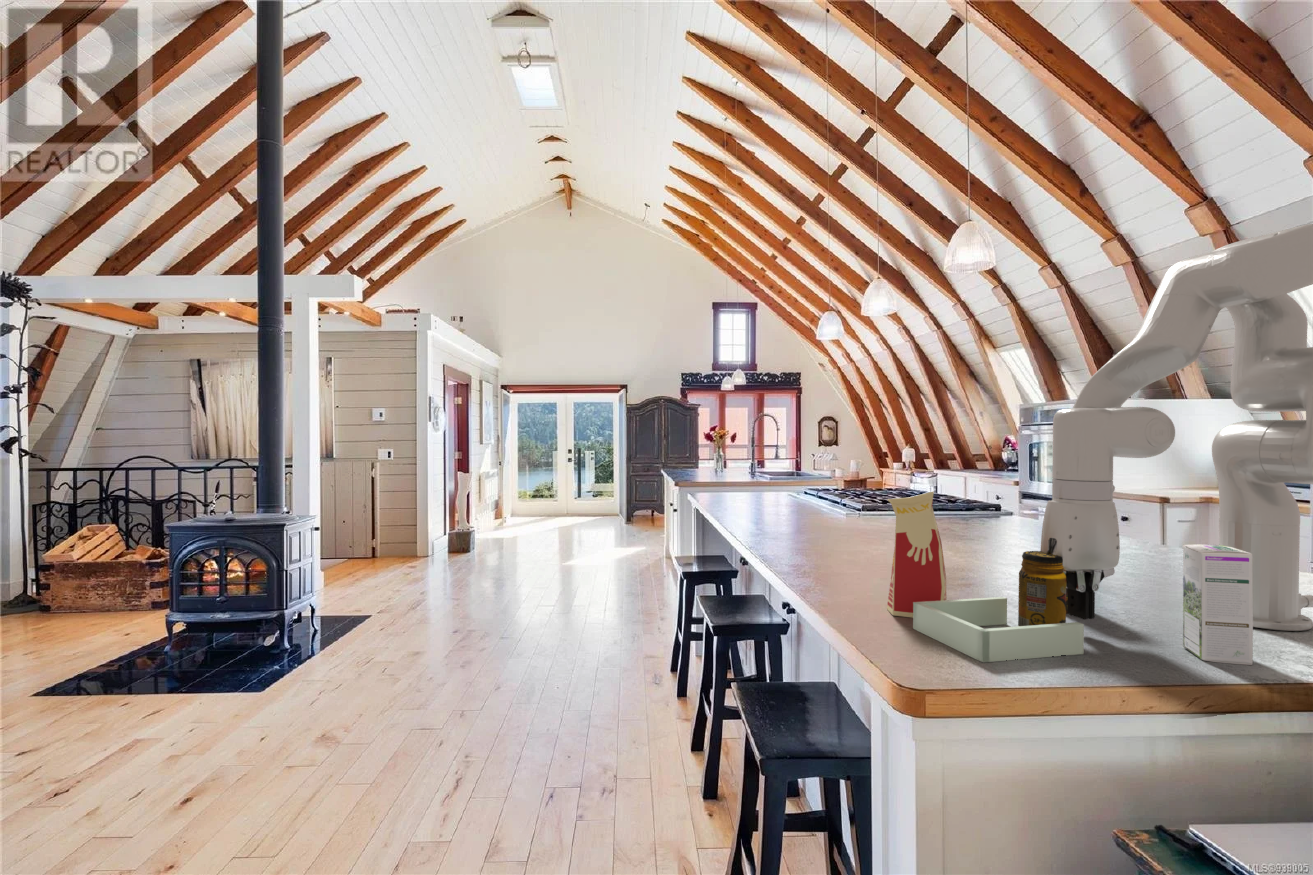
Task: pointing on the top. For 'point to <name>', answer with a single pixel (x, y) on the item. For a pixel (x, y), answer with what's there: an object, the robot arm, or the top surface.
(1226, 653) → the syrup box
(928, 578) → the milk carton
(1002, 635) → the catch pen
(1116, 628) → the top surface
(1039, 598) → the condiment
